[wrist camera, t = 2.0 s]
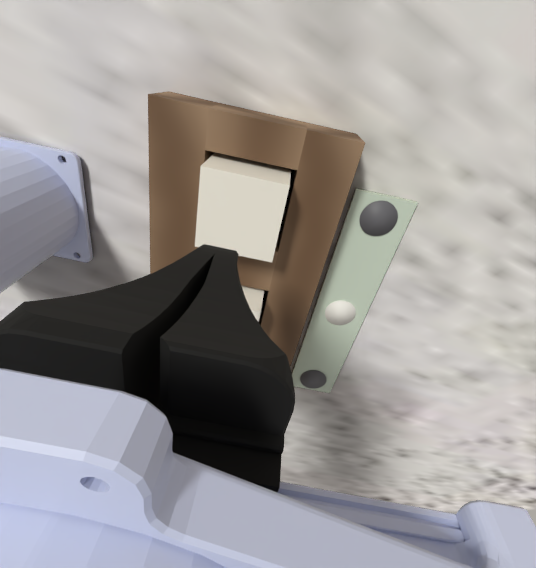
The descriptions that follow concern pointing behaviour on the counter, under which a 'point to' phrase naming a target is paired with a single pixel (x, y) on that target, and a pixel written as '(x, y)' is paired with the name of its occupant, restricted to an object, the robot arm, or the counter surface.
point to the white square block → (241, 205)
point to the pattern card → (350, 285)
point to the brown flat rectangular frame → (262, 148)
